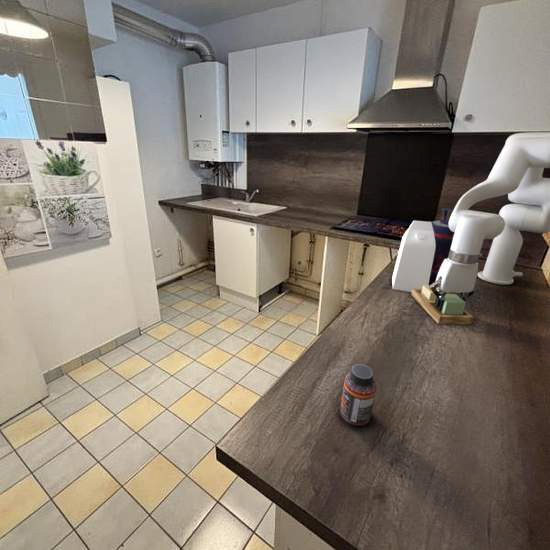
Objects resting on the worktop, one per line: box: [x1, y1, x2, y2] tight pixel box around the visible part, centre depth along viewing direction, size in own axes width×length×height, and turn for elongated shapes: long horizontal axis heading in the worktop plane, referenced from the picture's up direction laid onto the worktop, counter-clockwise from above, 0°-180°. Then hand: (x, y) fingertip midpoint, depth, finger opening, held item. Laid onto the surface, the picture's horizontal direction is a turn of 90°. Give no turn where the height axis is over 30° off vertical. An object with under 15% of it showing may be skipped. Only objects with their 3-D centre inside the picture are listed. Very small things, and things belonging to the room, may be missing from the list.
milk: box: [391, 220, 436, 293], centre depth 111 cm, size 12×12×26 cm
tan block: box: [421, 284, 449, 301], centre depth 103 cm, size 6×6×4 cm
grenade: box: [429, 206, 455, 284], centre depth 116 cm, size 14×12×30 cm
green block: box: [434, 293, 467, 315], centre depth 94 cm, size 6×6×4 cm
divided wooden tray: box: [410, 289, 475, 325], centre depth 99 cm, size 10×20×3 cm, turn 0°
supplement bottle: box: [339, 363, 377, 427], centre depth 56 cm, size 6×6×11 cm
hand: (448, 308), depth 95 cm, fingers closed on green block, 5 cm apart
